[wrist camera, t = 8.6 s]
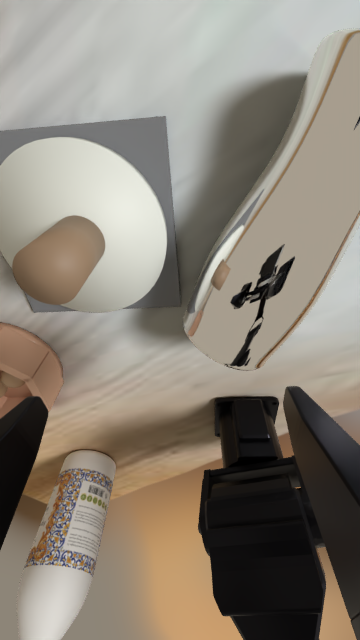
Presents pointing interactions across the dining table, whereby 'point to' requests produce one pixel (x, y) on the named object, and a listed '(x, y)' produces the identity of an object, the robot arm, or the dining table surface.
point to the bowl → (26, 368)
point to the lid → (80, 225)
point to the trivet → (152, 162)
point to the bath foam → (65, 547)
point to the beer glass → (287, 221)
